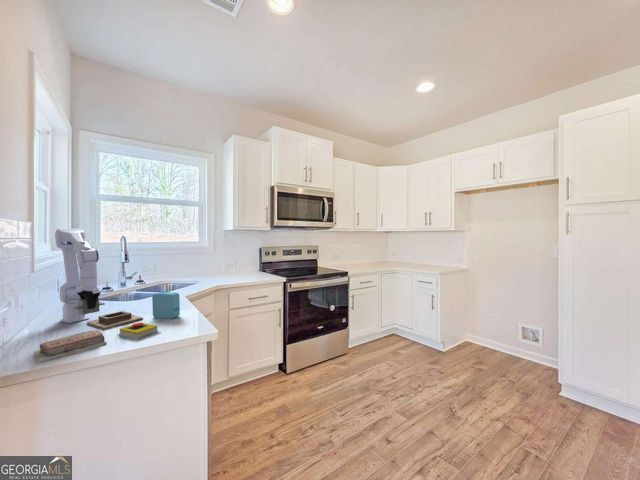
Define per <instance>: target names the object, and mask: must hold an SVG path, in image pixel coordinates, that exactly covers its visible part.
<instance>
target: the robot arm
mask: <svg viewBox="0 0 640 480" xmlns="http://www.w3.org/2000/svg"><path fill="white" fill-rule="evenodd" d="M85 235H86V234H85V231H84V230H83V229H82V228H78V229H75V228H74V229H72V228H67V229H66V228H65V229H64V228H57V229H56V230H55V233H54V239H55V246H56V248H58V249H61V252H62V256H63V262H64V264H63V265H64V270H65V271H64V272H65V279H66V282H65V283H64V284H62V285H61V286H60V287H59V301H60V302H61V303H63V305H62V318H61V319H59V320H60V321H61V322H64V323H65V324H72V323H76V322H80V321H85V320H89V319H90V318H89V317H88V316H86V314H84V315H82V314H79V310H75V309H73V307H77V306H78V300H80V299H86V301H87V305H88V309H93V308H95V306H96V302H97V299H98V298H99V297H100V296H101V292H100V288H99V286H98V275H97V274H98V270H97V267H98V266H97V263H98V262H99V259H100V255H99V251H98V249H97V248H92V247H91V245H90V243H88V241H85V238H86V237H85Z"/></svg>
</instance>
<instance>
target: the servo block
mask: <svg viewBox="0 0 640 480" xmlns="http://www.w3.org/2000/svg"><path fill="white" fill-rule="evenodd" d="M104 305H105V302H100V298H99V297H98V299H97V302H96V306H95V308H93V309H88V305H87V301H86V299H80V300H78V306H77V307H73V309H75V310H79V314H82V315H84V314H85V315H88V314H93V313H94V314H95V313H97V312H100V306H104Z"/></svg>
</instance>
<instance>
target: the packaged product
mask: <svg viewBox="0 0 640 480" xmlns="http://www.w3.org/2000/svg"><path fill="white" fill-rule="evenodd" d="M107 344H108V342H106V340H105V336H104V334H103V333H102V332H101V331H100V330H93V331H89V332H84V333H80V334H74V335H70V336H67V337H61V338H58V339H53V340H49V341H45V342H43V343H40V344H39V349H38V350H34V351H33V355H34V356H35V358H36V360H37V361H38V362H39V363H43V362H48V361H52V360H53V359H58V358H62V357H65V356H69V355H72V354H77V353H80V352H85V351H87V350H91V349H95V348H99V347H102V346H106V345H107Z"/></svg>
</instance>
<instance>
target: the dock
mask: <svg viewBox="0 0 640 480" xmlns="http://www.w3.org/2000/svg"><path fill="white" fill-rule="evenodd" d="M139 320H140V321H143V320H144V317H142V316H138V315H134V314H132V312H129V311H126V310H125V311H124V310H121V311H120V310H119V311H117V312H113V313H112V312H111V313H107V314H104V315H99V316H98V318H97V319H94V320H89V321H86V325H88V326H92V327H94V328H97V329H100V330H103V331H106V330H109V329H113V328H116V327H119V326H120V327H121V326H124V325H128V324H132V323H136V322H140V321H139ZM135 321H136V322H135Z"/></svg>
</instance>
